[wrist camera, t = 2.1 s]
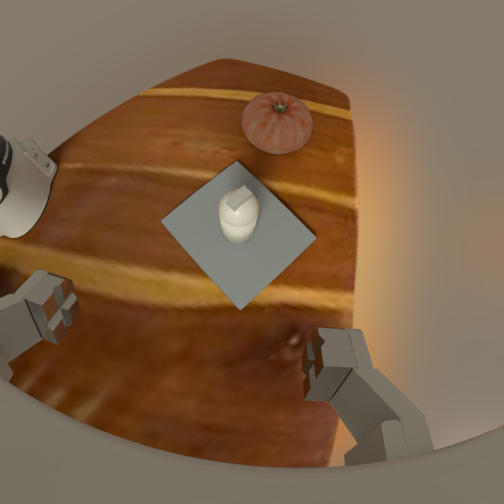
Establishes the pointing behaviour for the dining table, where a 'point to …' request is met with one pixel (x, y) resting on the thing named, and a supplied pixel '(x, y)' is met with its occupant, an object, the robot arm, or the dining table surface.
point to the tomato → (277, 123)
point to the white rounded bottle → (238, 215)
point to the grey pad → (245, 255)
